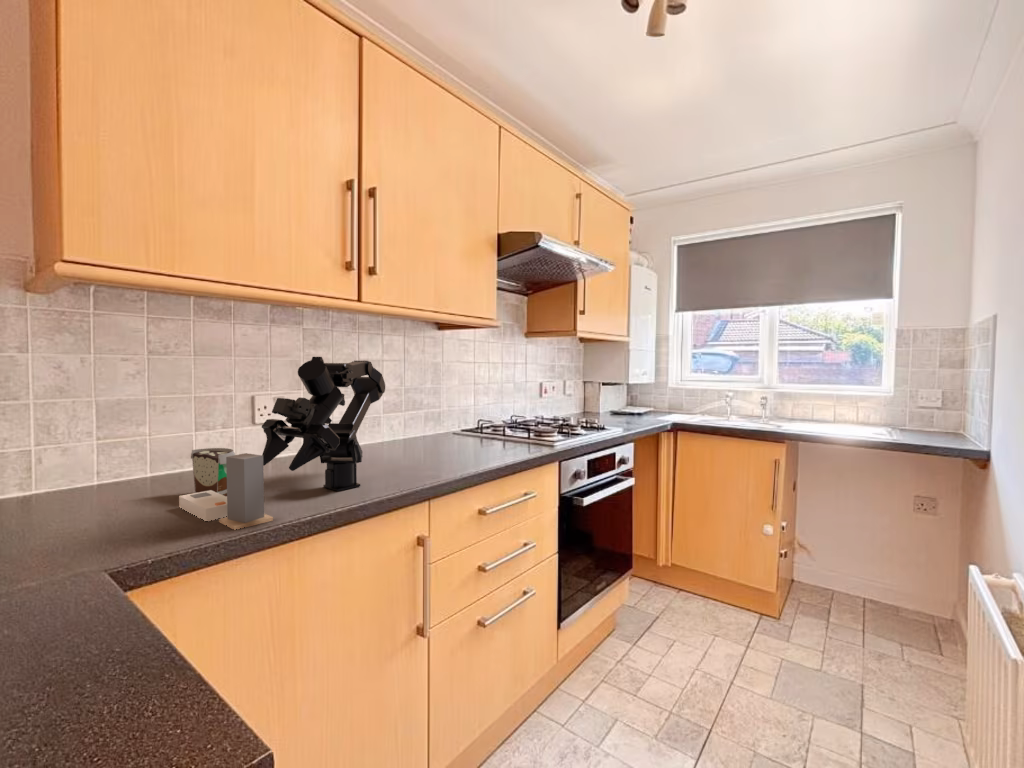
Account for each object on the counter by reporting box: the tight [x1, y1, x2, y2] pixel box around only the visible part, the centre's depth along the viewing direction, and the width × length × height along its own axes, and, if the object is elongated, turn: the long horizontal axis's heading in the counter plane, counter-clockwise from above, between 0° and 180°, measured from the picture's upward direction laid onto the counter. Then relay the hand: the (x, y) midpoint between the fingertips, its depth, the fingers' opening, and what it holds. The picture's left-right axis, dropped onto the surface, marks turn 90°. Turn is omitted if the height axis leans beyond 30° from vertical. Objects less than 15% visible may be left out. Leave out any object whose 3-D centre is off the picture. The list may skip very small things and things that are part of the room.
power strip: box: [178, 490, 228, 522], centre depth 101 cm, size 6×19×3 cm, turn 52°
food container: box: [190, 447, 236, 497], centre depth 113 cm, size 12×6×10 cm, turn 59°
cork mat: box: [218, 513, 274, 531], centre depth 93 cm, size 7×7×1 cm
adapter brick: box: [226, 453, 265, 523], centre depth 93 cm, size 4×5×12 cm
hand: (275, 467), depth 99 cm, fingers open, 9 cm apart
